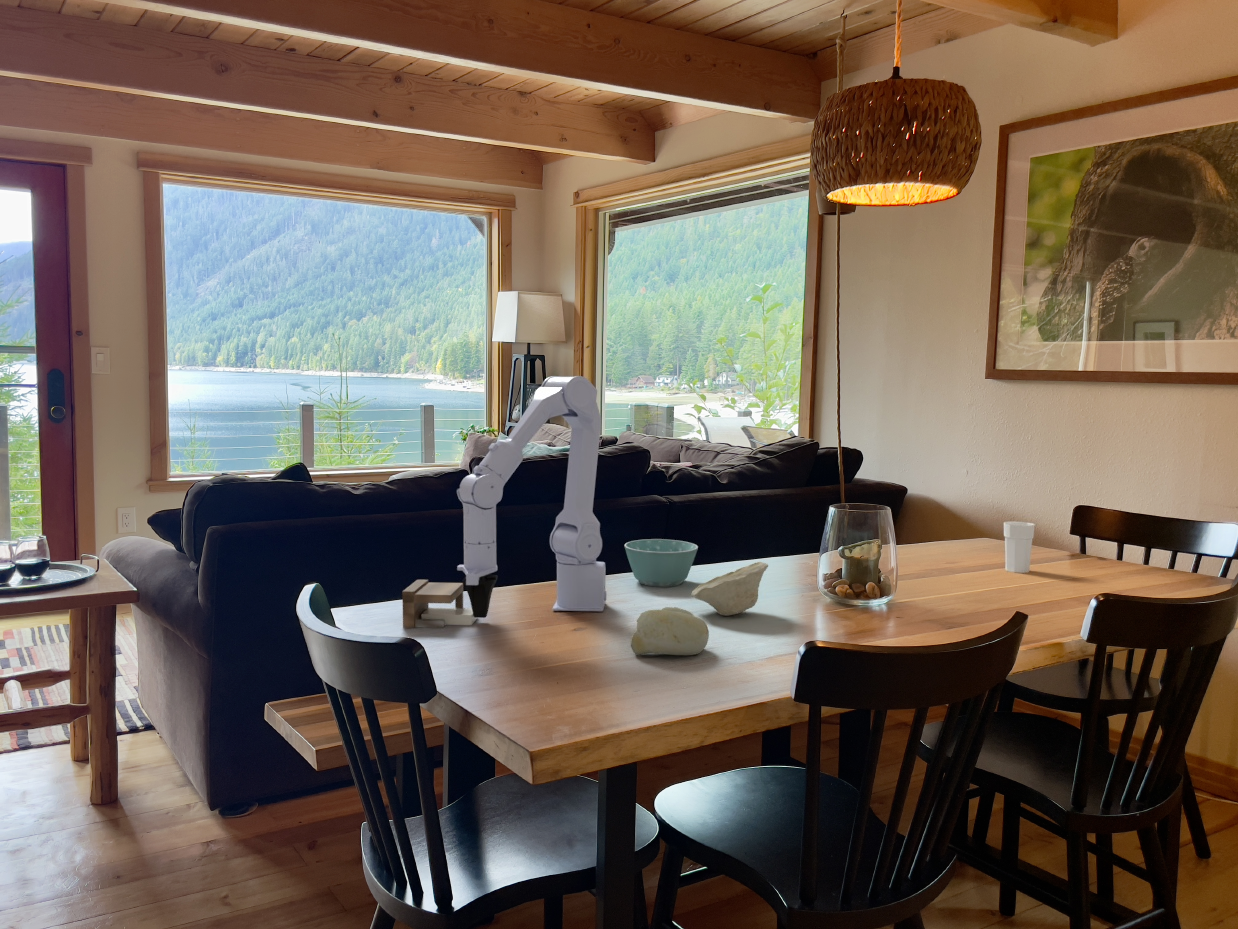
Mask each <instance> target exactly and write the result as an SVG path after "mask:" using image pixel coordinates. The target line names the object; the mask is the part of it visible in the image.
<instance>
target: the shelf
mask: <svg viewBox="0 0 1238 929" xmlns="http://www.w3.org/2000/svg"><path fill="white" fill-rule="evenodd" d="M401 594H402V628H403V629H415V628H439V629H441V628H445V627H446V624H445V620H442V619H421V614H422V613H423V612H424V611H425V610H427V609H428V608H430V607H429V604H450V605H451V604H452V603H453V602H455V607H454V608H464V585H463V582H429V579H416V580H415V581H414V582H412V583H411V584H410V585H409V586H407V587H406V588H405V589H403V590H402V593H401Z"/></svg>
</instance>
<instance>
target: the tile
mask: <svg viewBox="0 0 1238 929" xmlns="http://www.w3.org/2000/svg"><path fill="white" fill-rule="evenodd" d="M421 619H442V620H445V625H450V626H451V625H452V626H453V625H454V626H455V625H456V626H461V625H462V626H472V625H473V624H474V623H475V621H477V620H478V618H475V617H474V615H473V611H472V607H470V608H469V607H468V608H467V607H466V608H465V607H463V608H455V607H429V608H428V609H427V610H425V611H424V612H423V613H422V614H421Z"/></svg>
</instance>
